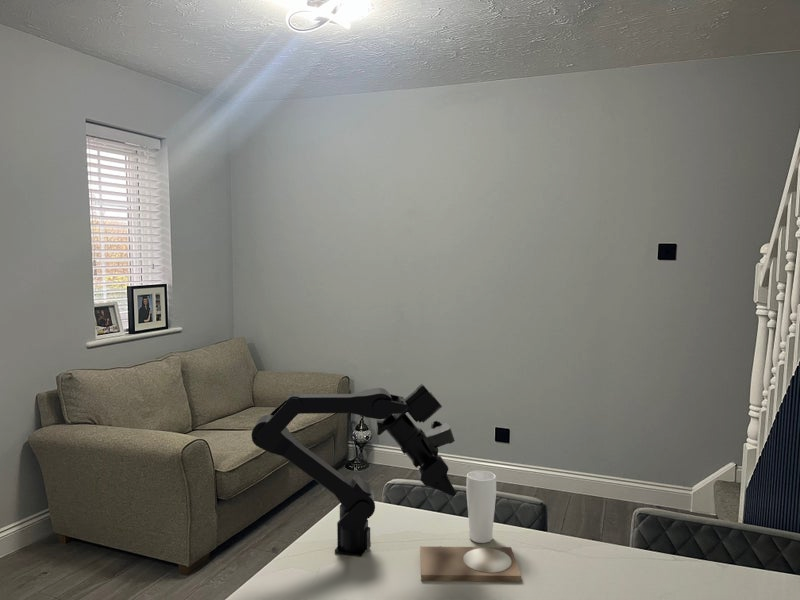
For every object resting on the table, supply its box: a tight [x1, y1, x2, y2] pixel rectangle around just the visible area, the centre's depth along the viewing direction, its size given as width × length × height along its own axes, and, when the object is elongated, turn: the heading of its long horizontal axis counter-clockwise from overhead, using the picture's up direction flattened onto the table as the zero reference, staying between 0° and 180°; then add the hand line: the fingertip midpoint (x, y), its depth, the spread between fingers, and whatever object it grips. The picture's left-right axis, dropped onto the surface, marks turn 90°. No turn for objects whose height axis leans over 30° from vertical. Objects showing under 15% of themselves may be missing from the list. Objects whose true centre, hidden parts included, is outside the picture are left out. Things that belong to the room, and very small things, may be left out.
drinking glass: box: [465, 470, 497, 544], centre depth 137 cm, size 7×7×15 cm
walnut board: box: [419, 546, 522, 583], centre depth 125 cm, size 20×12×1 cm, turn 89°
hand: (450, 486), depth 134 cm, fingers open, 9 cm apart
